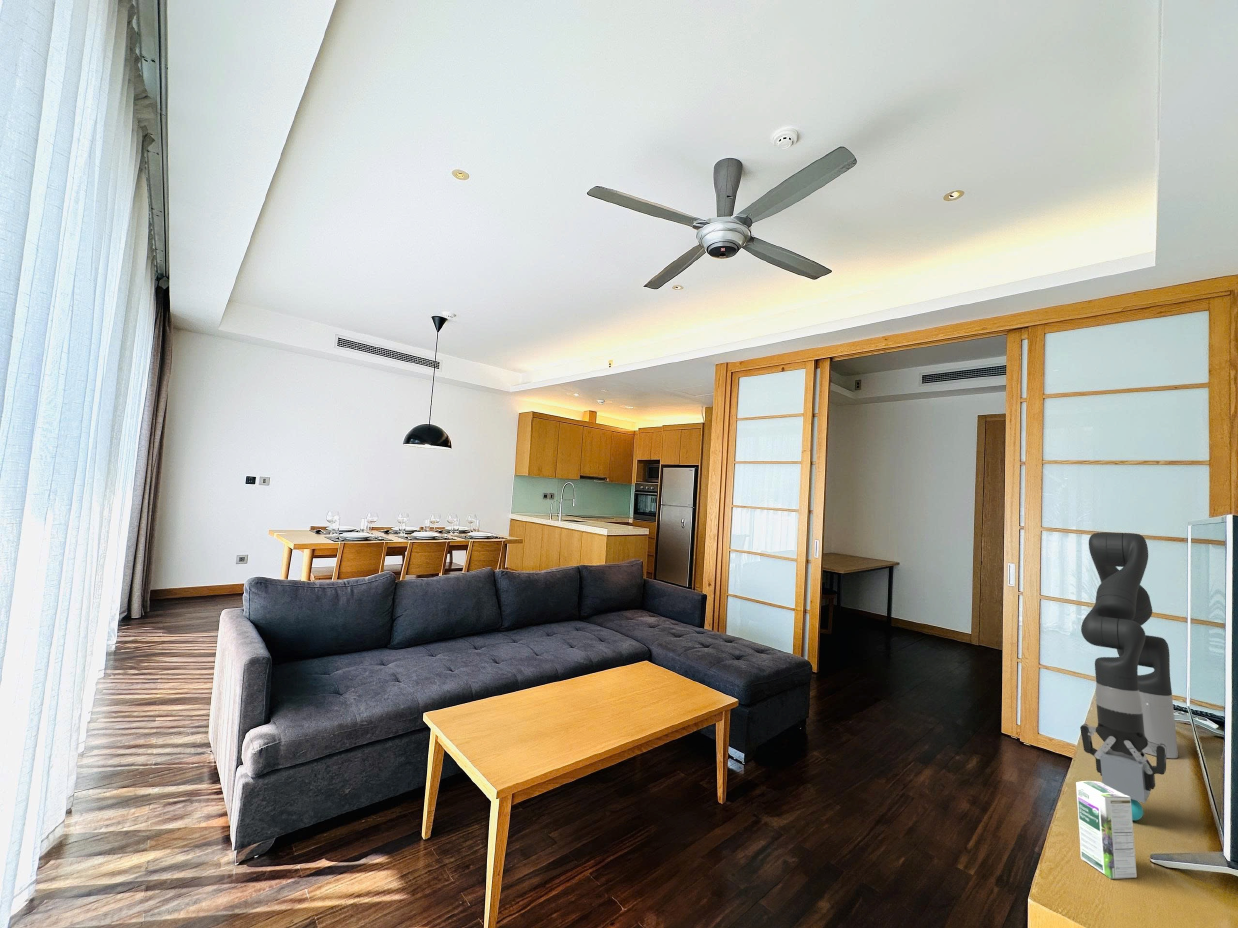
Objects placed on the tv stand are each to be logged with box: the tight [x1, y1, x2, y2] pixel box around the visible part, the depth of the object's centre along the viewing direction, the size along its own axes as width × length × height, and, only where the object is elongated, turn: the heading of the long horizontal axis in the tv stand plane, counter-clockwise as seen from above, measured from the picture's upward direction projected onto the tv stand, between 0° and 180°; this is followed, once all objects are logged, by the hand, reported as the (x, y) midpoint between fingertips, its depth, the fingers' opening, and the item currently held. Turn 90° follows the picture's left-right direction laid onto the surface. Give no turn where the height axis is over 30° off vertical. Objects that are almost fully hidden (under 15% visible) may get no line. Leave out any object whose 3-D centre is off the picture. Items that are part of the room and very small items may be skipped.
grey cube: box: [1100, 748, 1151, 804], centre depth 112 cm, size 7×7×7 cm
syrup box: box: [1075, 780, 1138, 880], centre depth 95 cm, size 6×6×14 cm
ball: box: [1131, 799, 1144, 821], centre depth 110 cm, size 5×5×5 cm
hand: (1125, 782), depth 111 cm, fingers closed on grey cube, 6 cm apart
